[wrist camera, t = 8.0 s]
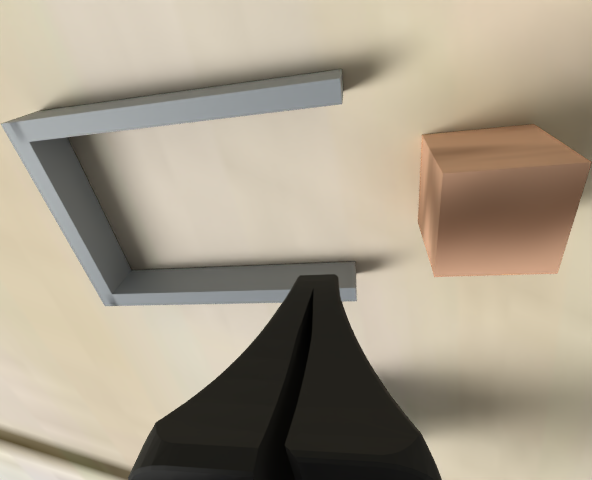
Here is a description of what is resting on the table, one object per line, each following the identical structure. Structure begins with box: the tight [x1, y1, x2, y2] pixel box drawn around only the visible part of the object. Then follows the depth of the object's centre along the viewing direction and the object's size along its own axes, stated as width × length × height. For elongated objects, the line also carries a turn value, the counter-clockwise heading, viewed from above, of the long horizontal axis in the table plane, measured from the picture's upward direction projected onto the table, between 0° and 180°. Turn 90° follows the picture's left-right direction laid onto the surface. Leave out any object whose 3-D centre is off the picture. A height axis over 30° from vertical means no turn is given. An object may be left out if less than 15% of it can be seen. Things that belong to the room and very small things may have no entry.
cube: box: [418, 124, 592, 277], centre depth 17 cm, size 5×5×5 cm
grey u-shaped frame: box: [1, 69, 357, 306], centre depth 20 cm, size 12×16×2 cm
